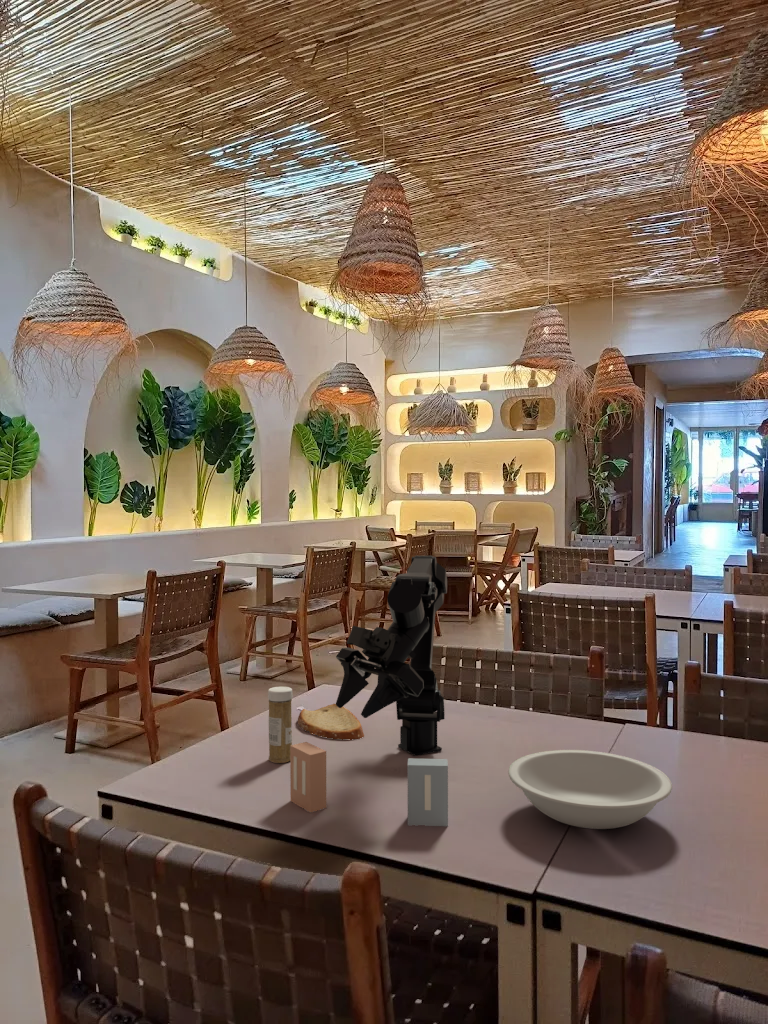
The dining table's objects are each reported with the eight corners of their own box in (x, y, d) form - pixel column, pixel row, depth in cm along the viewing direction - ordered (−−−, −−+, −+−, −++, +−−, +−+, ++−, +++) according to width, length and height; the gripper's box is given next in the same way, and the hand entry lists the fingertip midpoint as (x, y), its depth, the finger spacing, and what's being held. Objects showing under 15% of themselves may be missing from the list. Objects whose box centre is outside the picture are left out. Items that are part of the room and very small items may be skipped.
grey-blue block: (408, 816, 114) (408, 758, 114) (447, 817, 113) (447, 758, 113) (407, 825, 110) (407, 765, 110) (448, 826, 110) (447, 766, 110)
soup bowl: (622, 784, 127) (622, 745, 127) (706, 846, 104) (706, 799, 103) (488, 793, 123) (488, 753, 123) (543, 861, 99) (543, 812, 99)
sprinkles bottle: (296, 761, 139) (296, 689, 139) (274, 765, 136) (274, 692, 136) (285, 754, 143) (285, 684, 143) (264, 758, 140) (263, 687, 140)
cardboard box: (307, 796, 122) (307, 741, 122) (327, 807, 117) (327, 750, 117) (289, 801, 120) (289, 745, 120) (309, 813, 115) (309, 755, 115)
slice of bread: (358, 743, 151) (358, 725, 150) (277, 736, 156) (277, 718, 156) (384, 719, 168) (384, 703, 168) (310, 713, 173) (310, 697, 173)
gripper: (344, 602, 134) (291, 672, 128) (409, 615, 119) (353, 694, 113) (379, 640, 139) (330, 709, 133) (446, 657, 124) (394, 735, 118)
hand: (350, 711), depth 124 cm, fingers open, 7 cm apart
